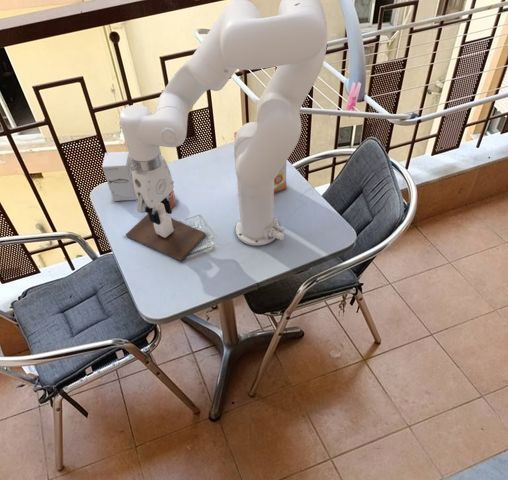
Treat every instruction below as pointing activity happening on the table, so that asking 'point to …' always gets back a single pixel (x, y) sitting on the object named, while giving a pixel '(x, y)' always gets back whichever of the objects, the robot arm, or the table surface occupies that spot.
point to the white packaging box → (119, 175)
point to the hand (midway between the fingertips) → (161, 216)
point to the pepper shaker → (163, 222)
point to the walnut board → (167, 238)
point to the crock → (172, 199)
